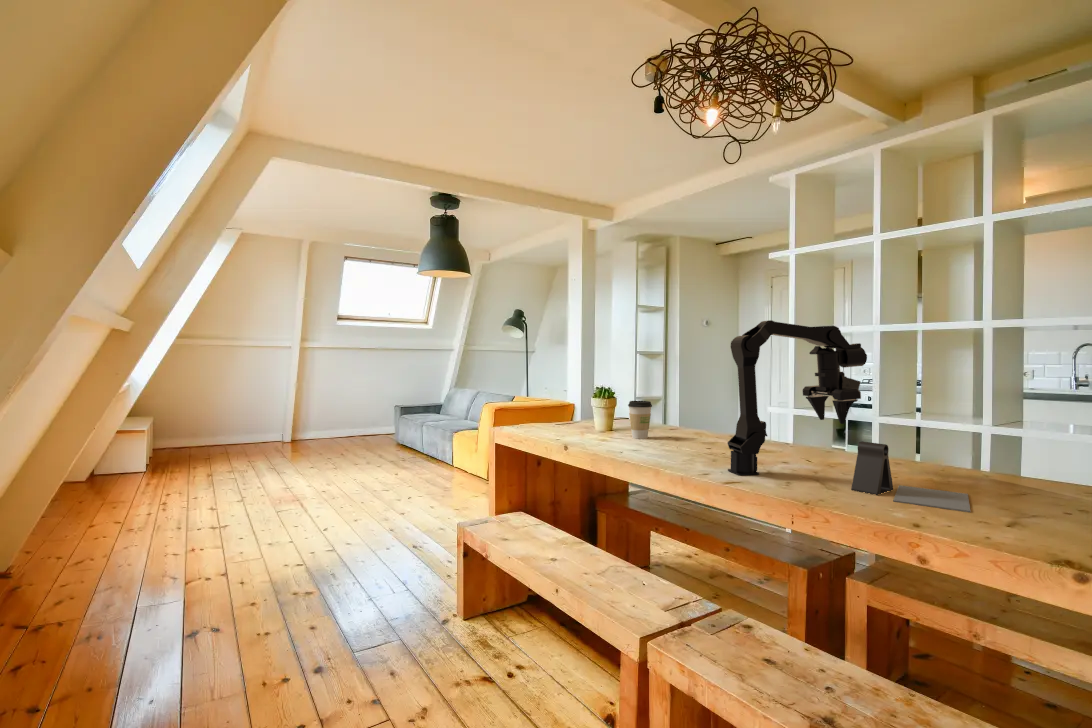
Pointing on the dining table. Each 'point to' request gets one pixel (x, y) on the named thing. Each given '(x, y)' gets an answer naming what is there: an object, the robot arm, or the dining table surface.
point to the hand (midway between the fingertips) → (831, 421)
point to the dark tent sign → (872, 469)
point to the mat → (932, 498)
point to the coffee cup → (640, 418)
